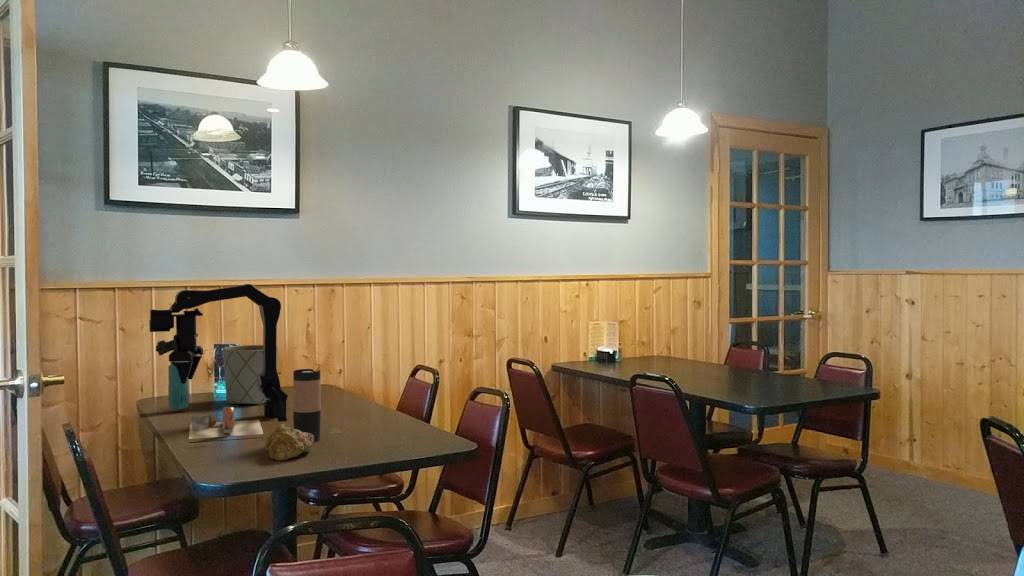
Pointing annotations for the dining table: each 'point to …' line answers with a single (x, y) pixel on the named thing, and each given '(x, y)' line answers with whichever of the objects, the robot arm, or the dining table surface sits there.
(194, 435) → the base
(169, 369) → the beverage bottle
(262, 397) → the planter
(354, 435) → the dining table surface
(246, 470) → the dining table surface
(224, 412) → the lever
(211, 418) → the walnut
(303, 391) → the travel mug
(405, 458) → the dining table surface
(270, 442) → the rock
